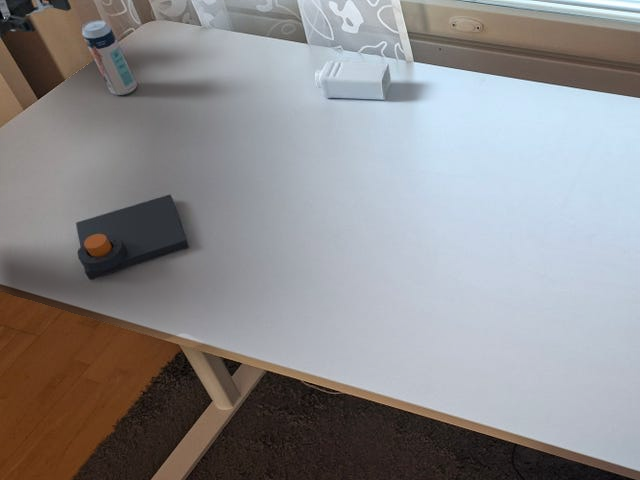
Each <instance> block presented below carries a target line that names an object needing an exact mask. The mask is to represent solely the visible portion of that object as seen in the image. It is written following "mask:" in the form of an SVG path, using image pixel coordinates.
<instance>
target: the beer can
mask: <svg viewBox="0 0 640 480" xmlns="http://www.w3.org/2000/svg"><path fill="white" fill-rule="evenodd" d="M81 30H82V31H81V34H82V37H83V39H84V41H85V43H86V45H87V47H88V50H89V51H90V53H91V56H92V57H93V60H94V62H95V63H96V66H97V67H98V69H99V72H100V73H101V75H102V77H103V79H104V82H105V83H106V86H107V88H108V90H109V92H110V93H111V94H114V95H116V96H126V95H129V94H131V93H132V92H133V91H135V90H136V88H137V86H138V84H137V81H136V79H135V78H134V75H133V73H132V71H131V69H130V67H129V64H128V63H127V59H126V57H125V56H124V53H123V51H122V48H121V47H120V45H119V42H118V40H117V38H116V35H115V34H114V31H113V29H112V27H111V26H110V25H109V24H108V23H107V22H106V21H104V20H100V19H95V20H91V21H88V22H86V23H84V24H83V25H82V27H81Z"/></svg>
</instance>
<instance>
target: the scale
mask: <svg viewBox="0 0 640 480" xmlns="http://www.w3.org/2000/svg"><path fill="white" fill-rule="evenodd" d="M75 225H76V232H77V237H78V242H79V249H78V250H77V257H78V260H79V261H80V263H81V265H82V266H83V269H84V274H85V275H86V276H87V278H88V279H89V280H93V279H97V278H99V277H102V276H105V275H107V274H110V273H114V272H118V271H121V270H124V269H126V268H129V267H133V266H135V265H138V264H141V263H144V262H148V261H151V260H154V259H157V258H161V257H164V256H167V255H170V254H173V253H177V252H180V251H182V250H184V249H188V248H190V245H189V242H188V238H187V237H186V233H185V230H184V227H183V224H182V221H181V217H180V216H179V213H178V209H177V206H176V204H175V200H174V198H173V197H172V194H166V195H163V196H159V197H157V198H153V199H150V200H146V201H143V202H139V203H137V204H133V205H129V206H126V207H123V208H119V209H115V210H112V211H110V212H107V213H103V214H100V215H96V216H93V217H90V218H85V219H83V220H80V221H76V222H75ZM95 234H103V235H105V236H106V237H107V239H108V241H109V242H110V244H111V245H112V250H111V251H110V252H109V253H107V254H106V255H104V256H100V257H93V256H91V255H90V253H89V252H88V250H87V249H86V247H85V246H84V242H85V240H86V239H87V238H88V237H90V236H92V235H95Z"/></svg>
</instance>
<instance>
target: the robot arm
mask: <svg viewBox="0 0 640 480" xmlns="http://www.w3.org/2000/svg"><path fill="white" fill-rule="evenodd" d="M34 1H35V3H36V5H37V6H35V5H34V3H33V0H0V36H7V35H8V31H11V32H16V31H20V32H22V33H23V32H24V33H25V32H26V33H31V34H32V33H34V32H36V28H35V26H34V25H33V23H32V21H31V20H30V18H27V16H29V15H31V14H37V13H38V14H39V13H44V12H45V10H46V9H56V10H60V11H66V12H68V11H70V10H71V9H72V7H71V4H70V2H69V0H34ZM44 1H45V2H44Z"/></svg>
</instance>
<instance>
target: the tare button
mask: <svg viewBox="0 0 640 480" xmlns="http://www.w3.org/2000/svg"><path fill="white" fill-rule="evenodd" d="M84 246H85V247H86V249H87V250H88V252H89V253H90V255H91V256H93V257H100V256H104V255H106V254H107V253H109V252H110V251H111V250H112V245H111V244H110V242H109V241H108V239H107V237H106V236H105V235H103V234H95V235H92V236H90V237H88V238H87V239H86V240H85V242H84Z"/></svg>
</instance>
